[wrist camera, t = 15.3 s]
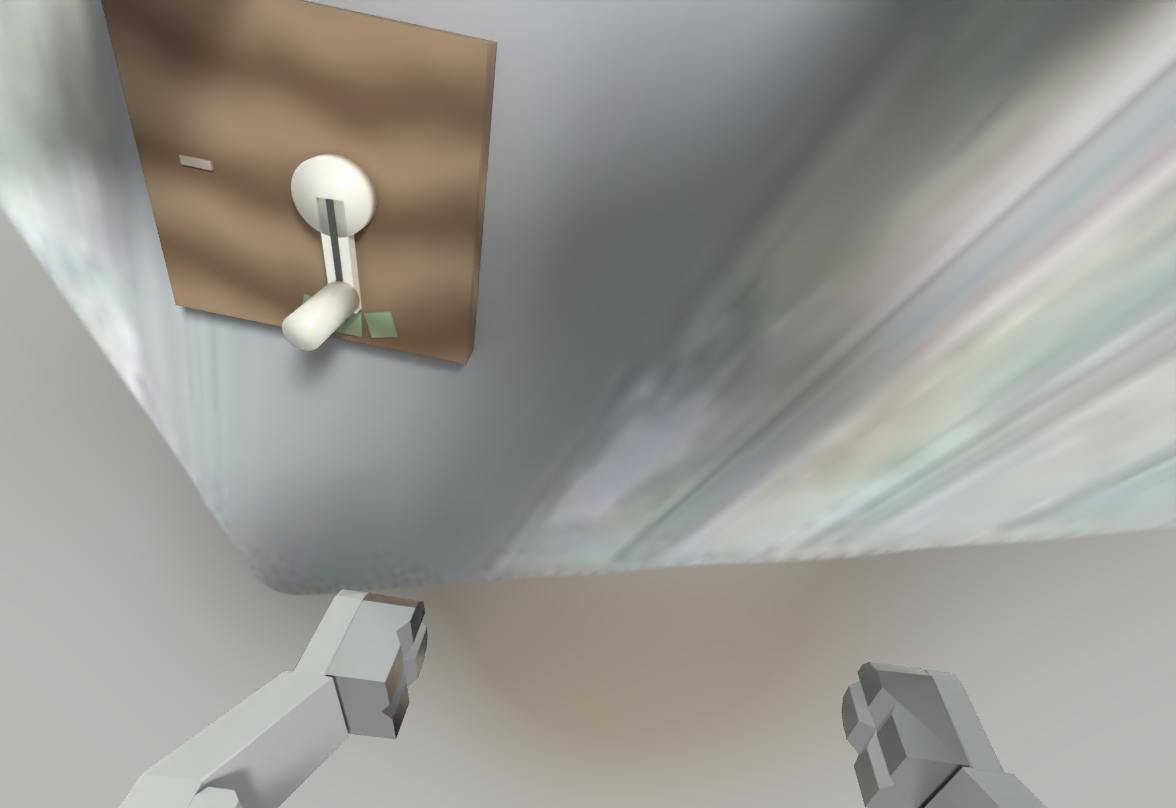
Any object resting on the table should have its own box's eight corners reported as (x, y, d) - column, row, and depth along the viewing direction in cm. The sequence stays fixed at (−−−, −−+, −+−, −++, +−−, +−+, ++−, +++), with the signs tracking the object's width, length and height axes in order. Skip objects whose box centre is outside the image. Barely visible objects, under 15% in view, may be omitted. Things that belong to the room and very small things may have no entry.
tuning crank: (296, 147, 33) (228, 172, 27) (373, 159, 32) (320, 186, 27) (320, 307, 38) (268, 352, 33) (386, 317, 38) (344, 364, 33)
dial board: (121, -39, 30) (87, -43, 29) (497, 42, 31) (487, 43, 29) (195, 293, 41) (173, 306, 39) (473, 350, 41) (465, 365, 40)
